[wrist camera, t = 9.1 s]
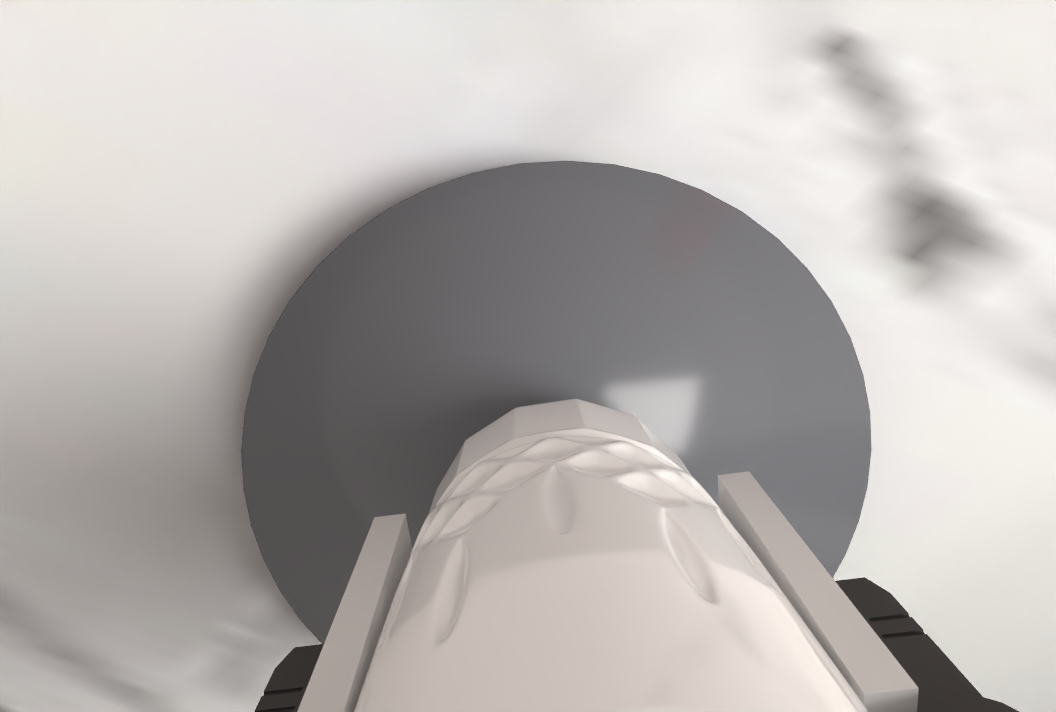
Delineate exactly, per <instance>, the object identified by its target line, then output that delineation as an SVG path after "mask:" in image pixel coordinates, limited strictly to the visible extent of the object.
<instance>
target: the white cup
mask: <svg viewBox="0 0 1056 712" xmlns="http://www.w3.org/2000/svg"><path fill="white" fill-rule="evenodd" d="M354 712H869V711H868V709H867V708H866V707H865V705H864V704H863V703H862V701H861V700H860V698H859V697H858V696H857V694H856V693H855V691H854V690H853V689H852V687H851V686H850V684H849V683H848V682H847V680H846V679H845V677H844V676H843V675H842V673H841V672H840V671H839V669H838V668H837V666H836V665H835V664H834V662H833V661H832V659H831V658H830V657H829V655H828V654H827V652H826V651H825V650H824V648H823V647H822V645H821V644H820V643H819V641H818V640H817V638H816V637H815V636H814V634H813V633H812V631H811V630H810V629H809V627H808V626H807V624H806V623H805V622H804V620H803V619H802V618H801V616H800V615H799V613H798V612H797V611H796V609H795V608H794V606H793V605H792V604H791V602H790V601H789V599H788V598H787V597H786V595H785V594H784V592H783V591H782V590H781V588H780V587H779V585H778V584H777V583H776V581H775V580H774V578H773V577H772V576H771V574H770V573H769V571H768V570H767V569H766V567H765V566H764V565H763V563H762V562H761V561H760V559H759V558H758V557H757V555H756V554H755V553H754V551H753V550H752V549H751V547H750V546H749V545H748V544H747V542H746V541H745V540H744V539H743V537H742V536H741V535H740V534H739V533H738V531H737V530H736V529H735V528H734V527H733V525H732V524H731V522H730V521H729V519H728V518H727V516H726V515H725V514H724V513H723V511H722V510H721V509H720V508H719V506H718V505H717V504H716V503H715V501H714V500H713V499H712V498H711V496H710V495H709V494H708V493H707V492H706V491H705V489H704V488H703V487H702V486H701V485H700V484H699V483H698V482H697V481H696V480H695V479H694V478H693V477H692V475H691V474H690V472H689V471H688V469H687V468H686V466H685V465H684V463H683V462H682V460H681V459H680V457H679V456H678V455H677V453H676V452H675V451H674V450H672V449H671V448H670V447H669V446H668V445H667V444H666V443H665V442H664V441H662V440H661V439H660V438H659V437H658V436H657V435H656V434H655V433H654V432H652V431H651V430H650V429H649V428H648V427H647V426H646V425H645V424H644V423H642V422H641V421H640V420H639V419H638V418H637V417H636V416H635V415H633V414H629V413H626V412H622V411H619V410H615V409H612V408H608V407H605V406H601V405H598V404H594V403H591V402H587V401H584V400H580V399H569V400H562V401H555V402H549V403H542V404H535V405H528V406H522V407H516V408H514V409H512V410H511V411H509V412H508V413H506V414H505V415H503V416H502V417H500V418H499V419H497V420H495V421H494V422H492V423H491V424H489V425H488V426H486V427H485V428H483V429H482V430H480V431H479V432H477V433H475V434H474V435H472V436H471V437H469V438H468V439H466V440H465V442H464V444H463V445H462V447H461V449H460V450H459V452H458V454H457V455H456V457H455V459H454V460H453V462H452V464H451V465H450V467H449V469H448V471H447V472H446V474H445V476H444V477H443V479H442V481H441V482H440V484H439V486H438V487H437V490H436V493H435V496H434V499H433V502H432V505H431V508H430V511H429V514H428V516H427V517H426V519H425V521H424V523H423V526H422V528H421V530H420V532H419V534H418V537H417V539H416V541H415V544H414V546H413V549H412V552H411V554H410V557H409V559H408V562H407V565H406V568H405V571H404V573H403V576H402V578H401V580H400V583H399V585H398V588H397V590H396V593H395V595H394V598H393V600H392V603H391V606H390V608H389V611H388V614H387V617H386V620H385V622H384V625H383V628H382V631H381V634H380V637H379V640H378V643H377V645H376V648H375V651H374V654H373V657H372V660H371V663H370V666H369V669H368V671H367V674H366V677H365V680H364V683H363V686H362V689H361V692H360V695H359V697H358V700H357V703H356V706H355V709H354Z"/></svg>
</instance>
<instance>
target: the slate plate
mask: <svg viewBox="0 0 1056 712" xmlns="http://www.w3.org/2000/svg"><path fill="white" fill-rule="evenodd" d="M569 399H580V400H584V401H587V402H591V403H594V404H598V405H601V406H605V407H608V408H612V409H615V410H619V411H622V412H626V413H629V414H633V415H635V416H636V417H637V418H638V419H639V420H640V421H641V422H642V423H644V424H645V425H646V426H647V427H648V428H649V429H650V430H651V431H652V432H654V433H655V434H656V435H657V436H658V437H659V438H660V439H661V440H662V441H664V442H665V443H666V444H667V445H668V446H669V447H670V448H671V449H672V450H674V451H675V452H676V453H677V455H678V456H679V457H680V459H681V460H682V462H683V463H684V465H685V466H686V468H687V469H688V471H689V472H690V474H691V475H692V477H693V478H694V479H695V480H696V481H697V482H698V483H699V484H700V485H701V486H702V487H703V488H704V489H705V491H706V492H707V493H708V494H709V495H710V496H711V498H712V499H713V500H714V501H715V503H716V504H717V505H718V506H719V492H718V475H724V474H732V473H740V472H748V471H749V472H750V473H751V474H752V476H753V477H754V478H755V480H756V481H757V482H758V483H759V485H760V486H761V487H762V488H763V490H764V491H765V492H766V494H767V495H768V496H769V497H770V499H771V500H772V501H773V503H774V504H775V505H776V506H777V508H778V509H779V510H780V511H781V513H782V514H783V515H784V517H785V518H786V519H787V520H788V522H789V523H790V524H791V526H792V527H793V528H794V529H795V531H796V532H797V533H798V534H799V536H800V537H801V538H802V540H803V541H804V542H805V543H806V545H807V546H808V547H809V549H810V550H811V551H812V552H813V554H814V555H815V556H816V557H817V559H818V560H819V561H820V563H821V564H822V565H823V566H824V568H825V569H826V570H827V572H828V573H829V574H830V575H831V577H832V578H833V576H834V574H835V572H836V571H837V569H838V567H839V565H840V564H841V562H842V560H843V558H844V556H845V554H846V552H847V549H848V547H849V544H850V542H851V539H852V537H853V534H854V532H855V529H856V527H857V524H858V521H859V517H860V513H861V509H862V505H863V502H864V498H865V494H866V490H867V484H868V475H869V466H870V457H871V428H870V410H869V404H868V399H867V393H866V388H865V382H864V377H863V373H862V370H861V367H860V364H859V361H858V358H857V355H856V353H855V350H854V347H853V344H852V341H851V338H850V336H849V334H848V332H847V330H846V328H845V326H844V324H843V322H842V321H841V319H840V317H839V315H838V313H837V311H836V309H835V307H834V305H833V303H832V301H831V300H830V299H829V297H828V296H827V295H826V293H825V292H824V291H823V289H822V288H821V286H820V285H819V284H818V282H817V281H816V280H815V278H814V277H813V275H812V274H811V273H810V271H809V270H808V269H807V268H806V267H805V266H804V265H803V264H802V263H801V262H800V260H799V259H798V258H797V257H796V256H795V255H794V254H793V253H792V252H791V251H790V250H789V249H788V248H787V247H786V246H785V245H784V244H783V243H782V242H781V241H780V240H779V239H778V238H777V237H775V236H774V235H773V234H771V233H770V232H769V231H767V230H766V229H764V228H763V227H762V226H760V225H759V224H758V223H756V222H755V221H754V220H752V219H751V218H750V217H748V216H747V215H746V214H744V213H743V212H742V211H740V210H738V209H736V208H734V207H732V206H731V205H729V204H727V203H725V202H723V201H721V200H720V199H718V198H716V197H714V196H712V195H710V194H709V193H707V192H705V191H703V190H700V189H698V188H695V187H692V186H690V185H687V184H684V183H681V182H679V181H676V180H673V179H671V178H668V177H665V176H663V175H660V174H655V173H651V172H646V171H642V170H637V169H633V168H628V167H623V166H619V165H614V164H601V163H589V162H576V161H556V162H540V163H523V164H516V165H511V166H506V167H501V168H496V169H491V170H486V171H481V172H476V173H472V174H469V175H466V176H463V177H460V178H457V179H454V180H451V181H449V182H446V183H443V184H440V185H437V186H434V187H431V188H428V189H426V190H424V191H422V192H421V193H419V194H417V195H415V196H413V197H411V198H409V199H407V200H405V201H403V202H401V203H399V204H397V205H395V206H393V207H391V208H389V209H387V210H386V211H384V212H383V213H381V214H380V215H379V216H377V217H376V218H374V219H373V220H371V221H370V222H369V223H367V224H366V225H364V226H363V227H362V228H360V229H359V230H357V231H356V232H354V233H353V234H352V235H350V236H349V237H348V238H347V239H346V240H345V241H344V242H343V243H341V244H340V245H339V246H338V247H337V248H336V249H335V250H334V251H333V252H332V253H331V254H330V255H329V256H328V257H327V258H325V259H324V260H323V261H322V262H321V263H320V264H319V265H318V266H317V267H316V268H315V270H314V271H313V272H312V273H311V275H310V276H309V277H308V278H307V280H306V281H305V282H304V283H303V285H302V286H301V287H300V288H299V290H298V291H297V292H296V293H295V295H294V296H293V297H292V298H291V300H290V301H289V303H288V305H287V306H286V308H285V310H284V312H283V313H282V315H281V317H280V318H279V320H278V322H277V324H276V325H275V327H274V329H273V330H272V332H271V334H270V336H269V338H268V340H267V343H266V345H265V348H264V350H263V353H262V355H261V358H260V360H259V363H258V365H257V368H256V370H255V373H254V376H253V380H252V384H251V388H250V392H249V397H248V401H247V405H246V409H245V415H244V427H243V438H242V450H241V453H242V469H243V485H244V493H245V497H246V502H247V507H248V512H249V517H250V521H251V526H252V529H253V531H254V534H255V537H256V540H257V542H258V545H259V548H260V551H261V553H262V556H263V559H264V561H265V563H266V565H267V567H268V569H269V571H270V572H271V574H272V576H273V578H274V580H275V582H276V584H277V586H278V588H279V589H280V591H281V593H282V594H283V596H284V597H285V598H286V600H287V601H288V603H289V604H290V606H291V607H292V608H293V610H294V611H295V613H296V614H297V615H298V617H299V618H300V620H301V621H302V622H303V623H304V624H305V625H306V626H307V627H308V629H309V630H310V631H311V632H312V633H313V634H314V635H315V636H316V637H317V638H318V639H319V640H320V642H321V643H322V644H324V643H325V641H326V638H327V636H328V633H329V630H330V628H331V625H332V623H333V620H334V618H335V615H336V613H337V610H338V608H339V605H340V603H341V600H342V598H343V595H344V593H345V590H346V588H347V585H348V583H349V580H350V578H351V575H352V573H353V570H354V568H355V565H356V563H357V560H358V557H359V555H360V552H361V550H362V547H363V545H364V542H365V540H366V537H367V535H368V532H369V530H370V527H371V525H372V522H373V520H374V517H381V516H389V515H397V514H406V519H407V524H408V529H409V534H410V539H411V544H412V548H413V546H414V544H415V541H416V539H417V537H418V534H419V532H420V530H421V528H422V526H423V523H424V521H425V519H426V517H427V516H428V514H429V511H430V508H431V505H432V502H433V499H434V496H435V493H436V490H437V487H438V486H439V484H440V482H441V481H442V479H443V477H444V476H445V474H446V472H447V471H448V469H449V467H450V465H451V464H452V462H453V460H454V459H455V457H456V455H457V454H458V452H459V450H460V449H461V447H462V445H463V444H464V442H465V440H466V439H468V438H469V437H471V436H472V435H474V434H475V433H477V432H479V431H480V430H482V429H483V428H485V427H486V426H488V425H489V424H491V423H492V422H494V421H495V420H497V419H499V418H500V417H502V416H503V415H505V414H506V413H508V412H509V411H511V410H512V409H514V408H516V407H522V406H528V405H535V404H542V403H549V402H555V401H562V400H569Z"/></svg>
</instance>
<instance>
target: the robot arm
mask: <svg viewBox="0 0 1056 712" xmlns="http://www.w3.org/2000/svg"><path fill="white" fill-rule="evenodd" d="M718 492H719V508H720V509H721V510H722V511H723V513H724V514H725V515H726V516H727V518H728V519H729V521H730V522H731V524H732V525H733V527H734V528H735V529H736V530H737V531H738V533H739V534H740V535H741V536H742V537H743V539H744V540H745V541H746V542H747V544H748V545H749V546H750V547H751V549H752V550H753V551H754V553H755V554H756V555H757V557H758V558H759V559H760V561H761V562H762V563H763V565H764V566H765V567H766V569H767V570H768V571H769V573H770V574H771V576H772V577H773V578H774V580H775V581H776V583H777V584H778V585H779V587H780V588H781V590H782V591H783V592H784V594H785V595H786V597H787V598H788V599H789V601H790V602H791V604H792V605H793V606H794V608H795V609H796V611H797V612H798V613H799V615H800V616H801V618H802V619H803V620H804V622H805V623H806V624H807V626H808V627H809V629H810V630H811V631H812V633H813V634H814V636H815V637H816V638H817V640H818V641H819V643H820V644H821V645H822V647H823V648H824V650H825V651H826V652H827V654H828V655H829V657H830V658H831V659H832V661H833V662H834V664H835V665H836V666H837V668H838V669H839V671H840V672H841V673H842V675H843V676H844V677H845V679H846V680H847V682H848V683H849V684H850V686H851V687H852V689H853V690H854V691H855V693H856V694H857V696H858V697H859V698H860V700H861V701H862V703H863V704H864V705H865V707H866V708H867V709H868V711H869V712H1019V711H1017V710H1015V709H1013V708H1011V707H1009V706H1007V705H1005V704H1003V703H1001V702H997V701H994V700H990V699H987V698H983V697H982V696H981V694H980V693H979V692H978V691H977V690H976V689H975V688H974V687H973V685H972V684H971V683H970V682H969V681H968V680H967V679H966V678H965V676H964V675H963V674H962V673H961V672H960V671H959V670H958V669H957V667H956V666H955V665H954V664H953V663H952V662H951V661H950V660H949V658H948V657H947V656H946V655H945V654H944V653H943V652H942V651H941V649H940V648H939V647H938V646H937V645H936V644H935V643H934V642H933V641H932V639H931V638H930V637H929V636H928V635H927V634H924V632H923V629H922V628H921V627H920V626H919V625H918V624H917V623H916V621H915V620H914V619H913V618H912V617H909V615H908V612H907V611H906V610H905V609H904V608H903V607H902V606H901V605H900V603H899V602H898V601H897V600H896V599H895V598H894V597H893V596H892V594H891V593H889V592H887V591H886V590H884V589H883V588H881V587H879V586H878V585H876V584H874V583H873V582H871V581H870V580H868V579H866V578H857V579H848V580H840V581H835V580H834V579H833V578H832V577H831V575H830V574H829V573H828V572H827V570H826V569H825V568H824V566H823V565H822V564H821V563H820V561H819V560H818V559H817V557H816V556H815V555H814V554H813V552H812V551H811V550H810V549H809V547H808V546H807V545H806V543H805V542H804V541H803V540H802V538H801V537H800V536H799V534H798V533H797V532H796V531H795V529H794V528H793V527H792V526H791V524H790V523H789V522H788V520H787V519H786V518H785V517H784V515H783V514H782V513H781V511H780V510H779V509H778V508H777V506H776V505H775V504H774V503H773V501H772V500H771V499H770V497H769V496H768V495H767V494H766V492H765V491H764V490H763V488H762V487H761V486H760V485H759V483H758V482H757V481H756V480H755V478H754V477H753V476H752V474H751V473H750V472H749V471H748V472H740V473H732V474H724V475H718ZM412 549H413V548H412V544H411V539H410V534H409V529H408V524H407V519H406V514H397V515H389V516H381V517H374V520H373V522H372V525H371V527H370V530H369V532H368V535H367V537H366V540H365V542H364V545H363V547H362V550H361V552H360V555H359V557H358V560H357V563H356V565H355V568H354V570H353V573H352V575H351V578H350V580H349V583H348V585H347V588H346V590H345V593H344V595H343V598H342V600H341V603H340V605H339V608H338V610H337V613H336V615H335V618H334V620H333V623H332V625H331V628H330V630H329V633H328V636H327V638H326V641H325V643H324V644H320V645H312V646H304V647H295V648H294V649H293V650H292V651H291V652H290V653H289V654H288V655H287V656H286V657H285V658H284V660H283V661H282V662H281V663H280V664H279V665H278V666H277V667H276V668H275V670H274V672H273V674H272V676H271V678H270V680H269V682H268V684H267V686H266V689H265V691H264V696H262V697H261V699H260V701H259V703H258V705H257V707H256V710H255V712H354V709H355V706H356V703H357V700H358V697H359V695H360V692H361V689H362V686H363V683H364V680H365V677H366V674H367V671H368V669H369V666H370V663H371V660H372V657H373V654H374V651H375V648H376V645H377V643H378V640H379V637H380V634H381V631H382V628H383V625H384V622H385V620H386V617H387V614H388V611H389V608H390V606H391V603H392V600H393V598H394V595H395V593H396V590H397V588H398V585H399V583H400V580H401V578H402V576H403V573H404V571H405V568H406V565H407V562H408V559H409V557H410V554H411V552H412Z"/></svg>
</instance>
